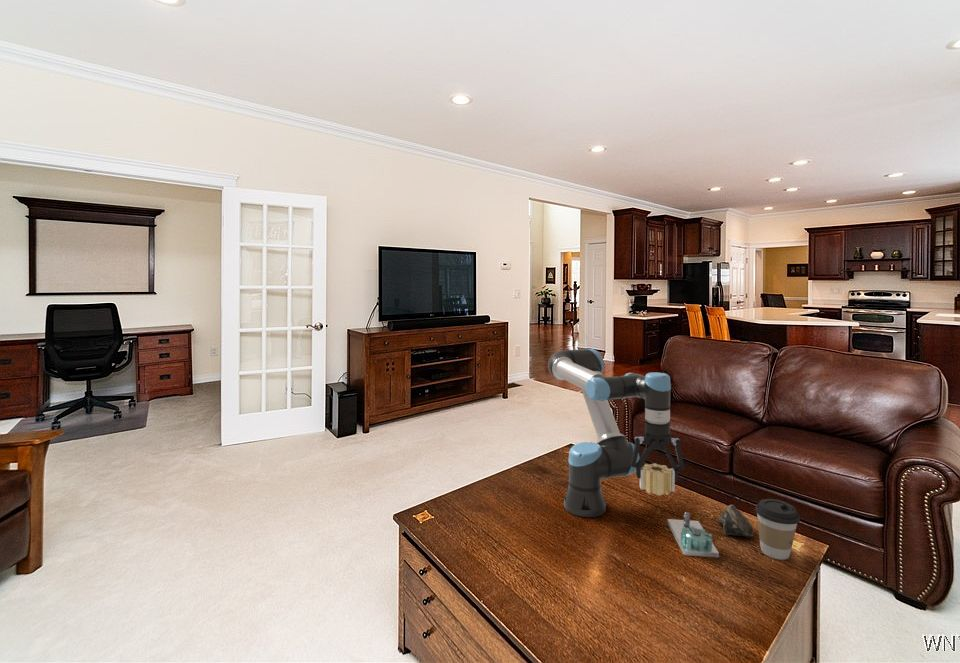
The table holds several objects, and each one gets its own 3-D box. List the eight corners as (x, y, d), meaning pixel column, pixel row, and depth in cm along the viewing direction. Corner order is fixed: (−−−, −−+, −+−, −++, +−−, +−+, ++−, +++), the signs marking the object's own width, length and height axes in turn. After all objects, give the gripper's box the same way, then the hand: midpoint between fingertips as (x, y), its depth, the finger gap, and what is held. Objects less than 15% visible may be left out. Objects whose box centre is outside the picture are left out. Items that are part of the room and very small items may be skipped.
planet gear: (636, 487, 143) (636, 467, 142) (653, 481, 147) (653, 461, 147) (660, 498, 135) (660, 476, 135) (677, 490, 140) (677, 469, 139)
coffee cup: (799, 569, 125) (802, 519, 123) (753, 556, 131) (755, 509, 129) (796, 548, 134) (799, 502, 133) (752, 537, 140) (755, 493, 139)
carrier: (683, 555, 132) (684, 535, 131) (667, 523, 150) (667, 505, 149) (718, 557, 131) (719, 537, 130) (698, 525, 148) (698, 507, 148)
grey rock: (761, 541, 137) (746, 514, 137) (732, 551, 140) (718, 524, 140) (749, 522, 148) (735, 496, 148) (722, 531, 150) (708, 506, 150)
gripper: (623, 423, 138) (623, 491, 140) (696, 425, 134) (695, 496, 136) (621, 416, 146) (621, 481, 147) (690, 419, 141) (689, 485, 143)
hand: (656, 488), depth 141 cm, fingers closed on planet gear, 9 cm apart
